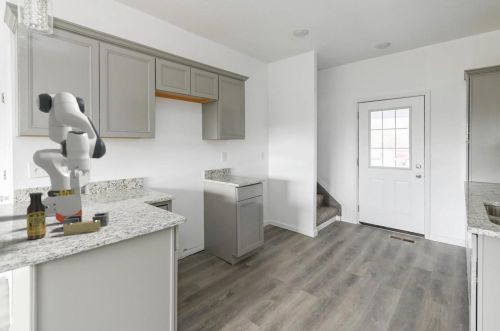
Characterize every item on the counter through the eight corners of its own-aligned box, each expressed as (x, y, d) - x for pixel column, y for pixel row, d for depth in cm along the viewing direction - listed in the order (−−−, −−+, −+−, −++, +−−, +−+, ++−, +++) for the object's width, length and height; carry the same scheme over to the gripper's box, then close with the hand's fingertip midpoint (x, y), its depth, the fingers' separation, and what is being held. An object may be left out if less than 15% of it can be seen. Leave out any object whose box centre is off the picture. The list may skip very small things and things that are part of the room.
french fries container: (55, 223, 129) (53, 189, 127) (80, 218, 137) (78, 186, 135) (57, 224, 126) (55, 190, 124) (82, 220, 133) (80, 187, 132)
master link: (63, 235, 111) (63, 224, 110) (65, 233, 114) (65, 222, 113) (99, 230, 116) (99, 220, 116) (100, 229, 119) (100, 218, 119)
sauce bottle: (28, 241, 104) (25, 195, 102) (26, 237, 108) (23, 193, 106) (48, 237, 109) (45, 192, 107) (45, 233, 113) (42, 191, 111)
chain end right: (108, 221, 131) (108, 212, 131) (106, 225, 124) (106, 216, 124) (95, 222, 129) (95, 213, 129) (92, 227, 122) (92, 217, 121)
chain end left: (63, 230, 117) (62, 220, 116) (68, 225, 124) (67, 216, 124) (78, 228, 119) (77, 218, 119) (82, 224, 127) (81, 214, 126)
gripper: (82, 167, 104) (84, 199, 105) (91, 164, 123) (93, 191, 124) (64, 167, 102) (66, 200, 103) (76, 164, 121) (78, 192, 122)
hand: (81, 195), depth 114 cm, fingers open, 8 cm apart
